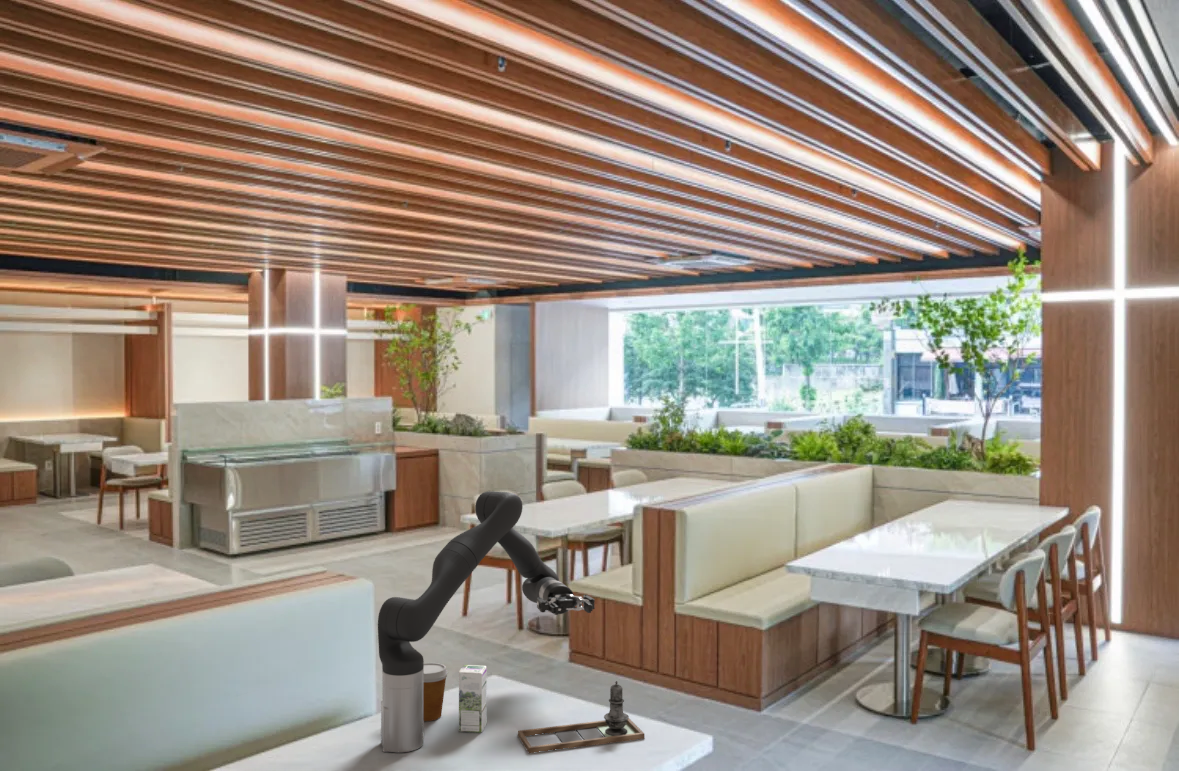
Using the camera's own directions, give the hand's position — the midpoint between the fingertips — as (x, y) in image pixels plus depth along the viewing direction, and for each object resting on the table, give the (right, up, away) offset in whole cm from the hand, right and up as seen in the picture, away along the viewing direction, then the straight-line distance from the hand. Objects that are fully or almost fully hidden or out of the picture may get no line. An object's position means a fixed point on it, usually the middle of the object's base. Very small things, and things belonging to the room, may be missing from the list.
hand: (573, 609), depth 222 cm
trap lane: (+2, -26, -14) cm, 30 cm away
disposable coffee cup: (-36, -26, -1) cm, 45 cm away
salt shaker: (+10, -26, -11) cm, 30 cm away
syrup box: (-24, -26, -9) cm, 37 cm away
